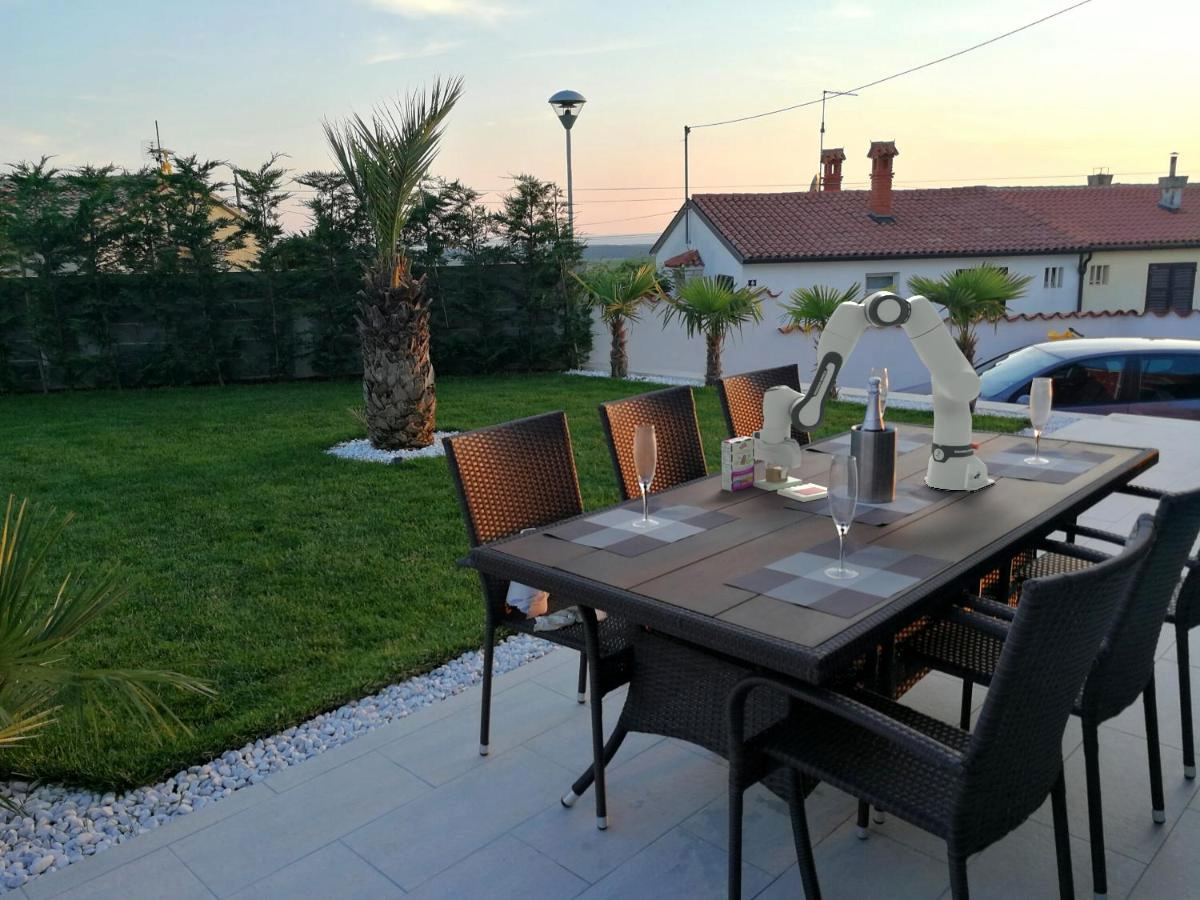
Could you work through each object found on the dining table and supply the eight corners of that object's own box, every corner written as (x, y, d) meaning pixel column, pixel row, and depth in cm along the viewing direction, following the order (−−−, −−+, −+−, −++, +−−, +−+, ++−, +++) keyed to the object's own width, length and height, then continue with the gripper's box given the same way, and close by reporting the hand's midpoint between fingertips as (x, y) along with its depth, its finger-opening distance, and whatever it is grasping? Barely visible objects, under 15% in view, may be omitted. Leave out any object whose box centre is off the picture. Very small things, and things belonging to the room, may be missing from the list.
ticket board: (810, 487, 273) (810, 482, 273) (837, 495, 263) (837, 490, 263) (777, 494, 267) (777, 489, 266) (803, 502, 256) (803, 497, 256)
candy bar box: (743, 483, 281) (743, 435, 278) (754, 486, 277) (755, 437, 274) (720, 489, 274) (720, 440, 271) (731, 492, 271) (732, 442, 267)
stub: (785, 479, 283) (785, 464, 282) (802, 484, 277) (802, 468, 276) (753, 485, 277) (753, 469, 276) (769, 490, 270) (769, 474, 269)
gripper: (806, 438, 266) (805, 481, 269) (763, 429, 284) (763, 469, 287) (791, 441, 263) (790, 484, 266) (749, 432, 281) (749, 472, 284)
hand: (776, 476), depth 277 cm, fingers open, 4 cm apart
